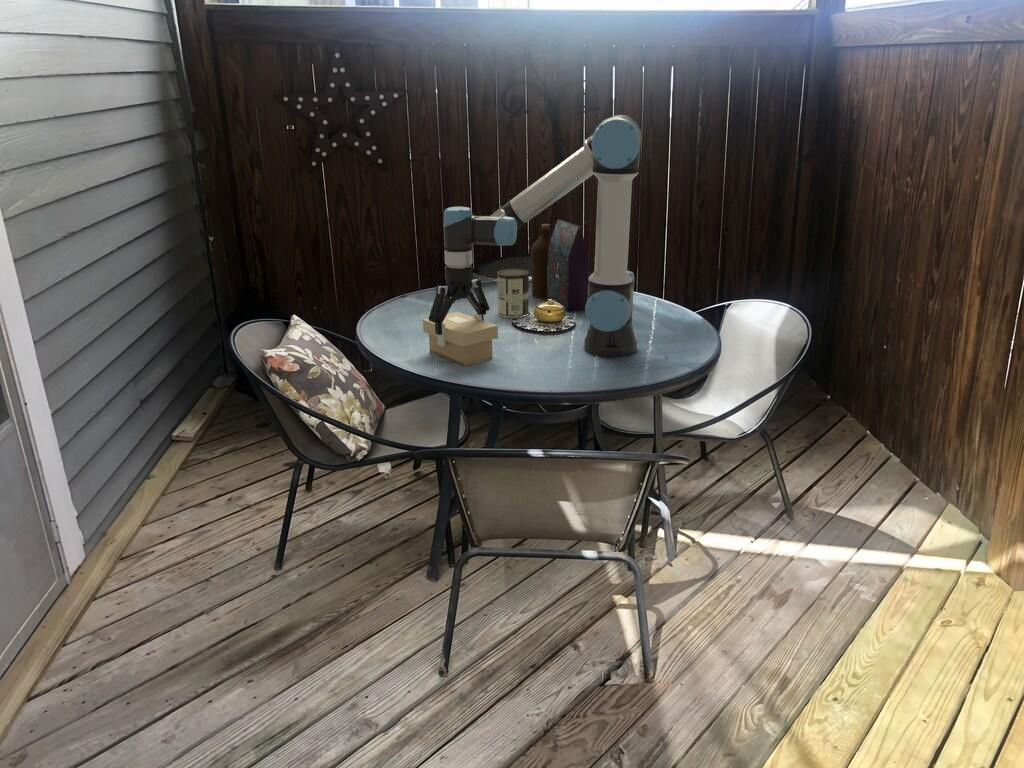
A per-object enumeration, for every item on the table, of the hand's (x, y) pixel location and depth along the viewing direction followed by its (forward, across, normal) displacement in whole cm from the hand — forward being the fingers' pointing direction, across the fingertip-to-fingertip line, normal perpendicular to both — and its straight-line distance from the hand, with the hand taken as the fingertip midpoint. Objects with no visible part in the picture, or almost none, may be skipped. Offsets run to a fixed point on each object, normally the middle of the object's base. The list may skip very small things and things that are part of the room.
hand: (460, 340), depth 236 cm
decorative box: (+5, -60, -18) cm, 63 cm away
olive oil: (+5, -64, -33) cm, 72 cm away
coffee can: (+5, -39, -22) cm, 45 cm away
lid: (-2, 0, 0) cm, 2 cm away
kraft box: (+4, 0, 0) cm, 4 cm away
